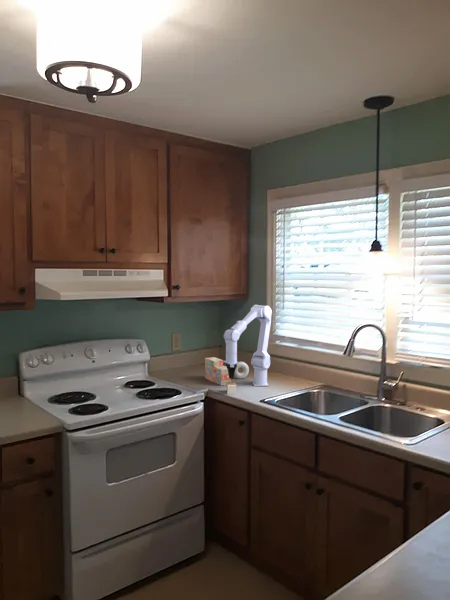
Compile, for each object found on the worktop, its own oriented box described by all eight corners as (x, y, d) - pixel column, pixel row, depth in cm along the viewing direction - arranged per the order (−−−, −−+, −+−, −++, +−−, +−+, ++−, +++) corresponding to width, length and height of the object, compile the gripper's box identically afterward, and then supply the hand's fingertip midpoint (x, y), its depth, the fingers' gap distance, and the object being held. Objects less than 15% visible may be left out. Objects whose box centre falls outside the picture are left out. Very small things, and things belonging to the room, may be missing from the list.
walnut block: (226, 382, 269) (227, 385, 262) (235, 381, 270) (236, 385, 262) (226, 390, 270) (227, 394, 262) (235, 390, 270) (236, 394, 262)
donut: (232, 379, 295) (232, 362, 294) (231, 378, 298) (231, 361, 297) (249, 378, 297) (249, 361, 296) (248, 377, 300) (248, 360, 299)
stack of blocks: (231, 385, 282) (231, 363, 281) (221, 386, 279) (221, 364, 278) (214, 377, 301) (214, 356, 300) (204, 378, 298) (204, 357, 297)
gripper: (223, 350, 273) (223, 375, 274) (224, 355, 259) (224, 381, 260) (236, 350, 274) (236, 375, 275) (238, 355, 259) (238, 381, 260)
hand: (231, 378), depth 267 cm, fingers closed
